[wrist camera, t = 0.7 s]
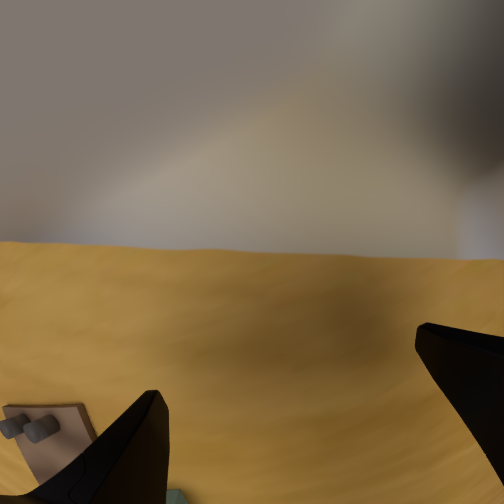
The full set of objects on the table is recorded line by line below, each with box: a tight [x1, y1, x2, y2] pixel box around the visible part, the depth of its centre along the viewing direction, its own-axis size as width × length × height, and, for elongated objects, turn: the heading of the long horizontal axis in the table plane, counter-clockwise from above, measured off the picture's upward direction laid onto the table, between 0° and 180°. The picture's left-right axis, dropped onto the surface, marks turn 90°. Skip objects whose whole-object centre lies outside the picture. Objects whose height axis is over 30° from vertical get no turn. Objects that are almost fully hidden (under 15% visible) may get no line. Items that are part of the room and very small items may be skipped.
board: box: [0, 404, 97, 485], centre depth 14 cm, size 20×14×5 cm
